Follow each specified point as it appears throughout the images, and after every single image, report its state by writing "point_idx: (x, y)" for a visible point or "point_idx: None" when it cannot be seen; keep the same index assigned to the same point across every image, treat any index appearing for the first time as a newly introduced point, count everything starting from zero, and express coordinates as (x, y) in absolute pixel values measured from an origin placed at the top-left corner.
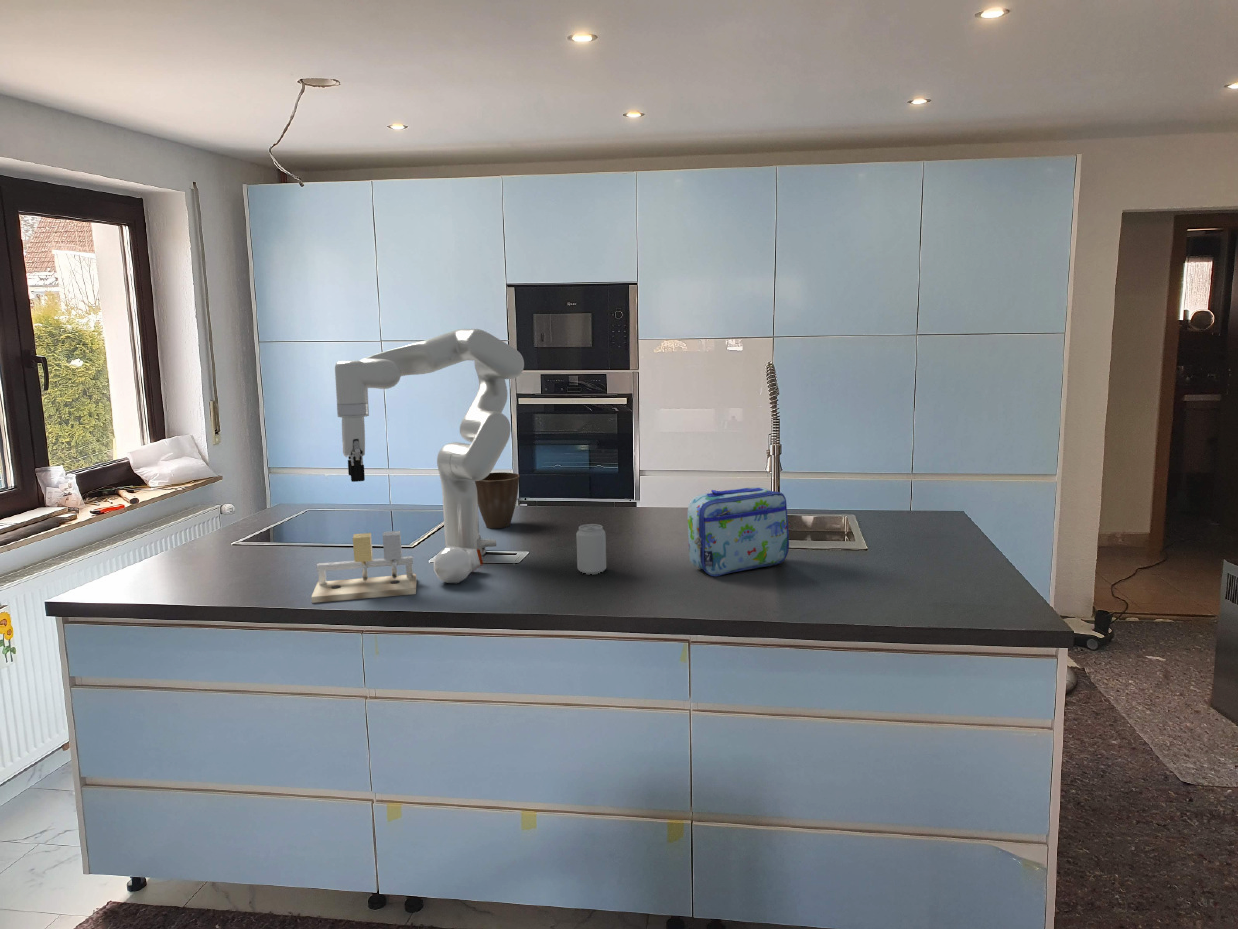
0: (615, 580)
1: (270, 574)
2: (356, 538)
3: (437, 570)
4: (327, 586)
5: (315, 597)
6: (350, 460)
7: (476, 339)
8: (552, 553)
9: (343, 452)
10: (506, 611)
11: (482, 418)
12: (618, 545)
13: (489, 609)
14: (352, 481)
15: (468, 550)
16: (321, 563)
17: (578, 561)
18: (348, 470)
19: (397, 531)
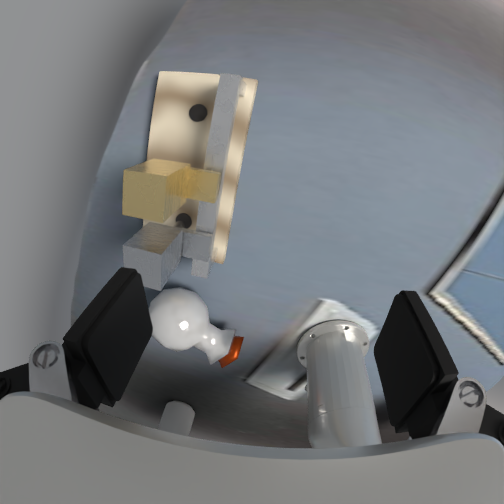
0: (148, 403)
1: (401, 25)
2: (123, 179)
3: (162, 293)
4: (212, 97)
5: (158, 78)
6: (432, 387)
7: None
8: (266, 410)
9: (225, 485)
10: (74, 308)
11: None
12: (261, 442)
13: (79, 298)
14: (124, 270)
15: (215, 356)
16: (236, 84)
17: (174, 409)
18: (414, 310)
19: (156, 284)
